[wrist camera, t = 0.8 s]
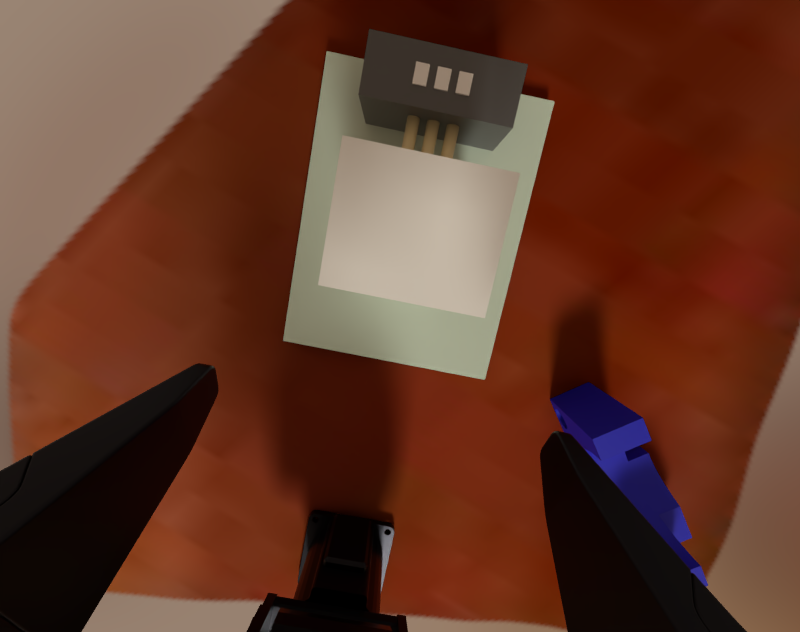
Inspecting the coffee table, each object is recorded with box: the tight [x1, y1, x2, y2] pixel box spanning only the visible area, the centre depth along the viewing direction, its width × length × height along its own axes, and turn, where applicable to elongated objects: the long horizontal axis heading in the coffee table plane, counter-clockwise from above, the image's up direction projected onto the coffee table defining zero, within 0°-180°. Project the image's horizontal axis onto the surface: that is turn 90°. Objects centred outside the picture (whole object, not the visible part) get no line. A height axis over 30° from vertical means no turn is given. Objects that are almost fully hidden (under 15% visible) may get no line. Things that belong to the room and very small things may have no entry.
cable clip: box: [550, 382, 708, 586], centre depth 24 cm, size 12×4×6 cm, turn 25°
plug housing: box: [318, 135, 520, 318], centre depth 18 cm, size 5×6×11 cm
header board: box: [283, 29, 554, 380], centre depth 21 cm, size 18×14×5 cm
